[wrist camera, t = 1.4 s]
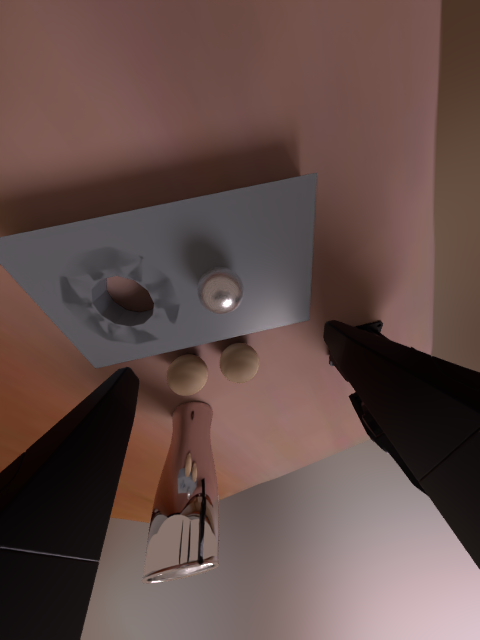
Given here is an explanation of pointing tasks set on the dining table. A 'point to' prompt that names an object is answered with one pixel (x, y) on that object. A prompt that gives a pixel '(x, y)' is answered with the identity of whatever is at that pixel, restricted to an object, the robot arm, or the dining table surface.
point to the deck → (172, 269)
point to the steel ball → (220, 290)
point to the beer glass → (185, 502)
